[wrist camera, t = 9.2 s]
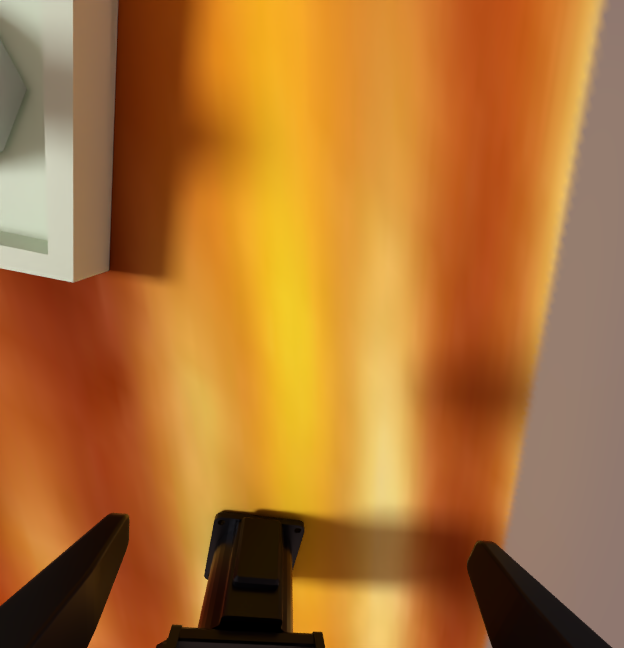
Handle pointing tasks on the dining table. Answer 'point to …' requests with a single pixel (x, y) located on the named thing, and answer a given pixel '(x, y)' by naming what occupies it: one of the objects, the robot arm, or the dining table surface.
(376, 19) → the dining table surface
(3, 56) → the flask
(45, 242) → the tray
